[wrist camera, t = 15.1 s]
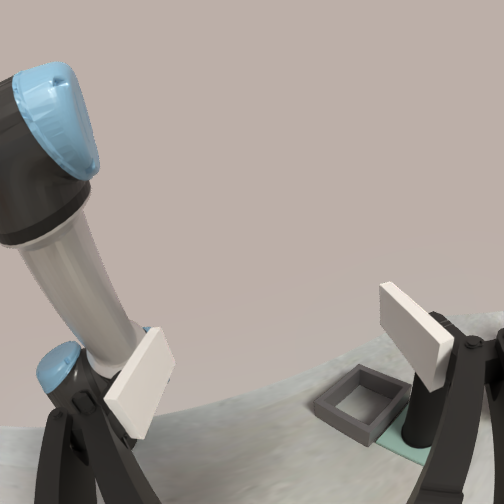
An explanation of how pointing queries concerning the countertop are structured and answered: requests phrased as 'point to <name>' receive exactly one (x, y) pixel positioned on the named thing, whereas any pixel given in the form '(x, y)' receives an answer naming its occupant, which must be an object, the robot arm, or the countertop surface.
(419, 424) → the aerosol can
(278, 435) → the countertop surface
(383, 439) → the occupied pad
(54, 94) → the robot arm
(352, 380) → the grey square tray
